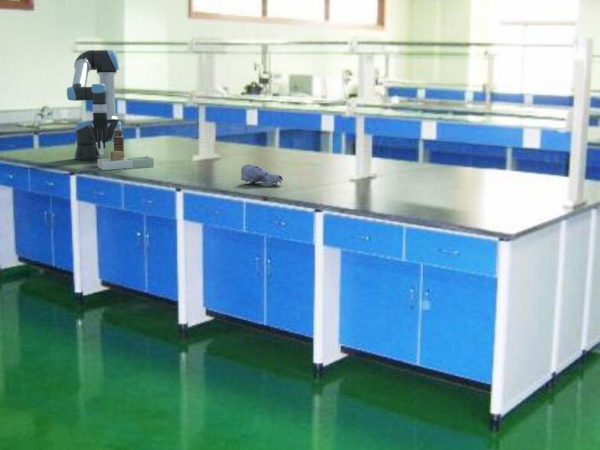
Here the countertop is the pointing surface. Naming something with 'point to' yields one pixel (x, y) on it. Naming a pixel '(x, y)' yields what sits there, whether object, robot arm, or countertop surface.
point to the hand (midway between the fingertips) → (101, 154)
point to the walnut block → (117, 155)
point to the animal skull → (259, 175)
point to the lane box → (126, 163)
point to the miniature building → (118, 140)
